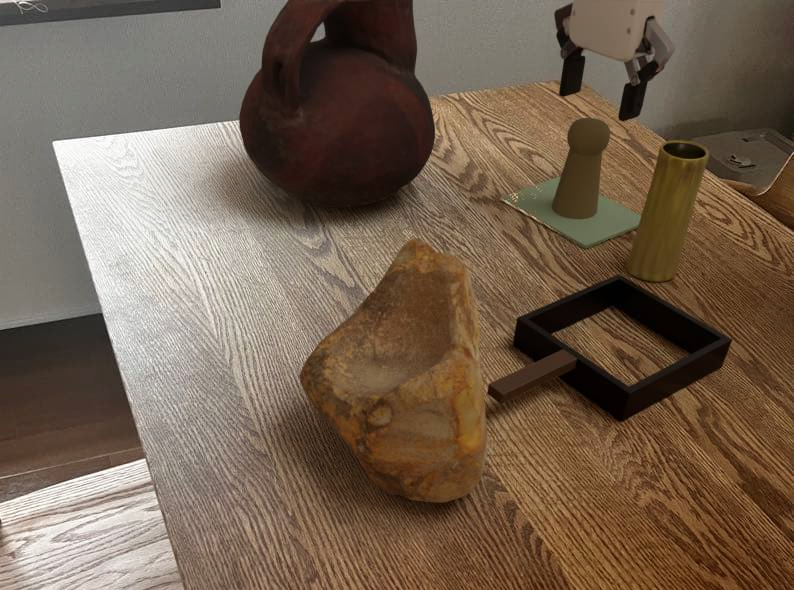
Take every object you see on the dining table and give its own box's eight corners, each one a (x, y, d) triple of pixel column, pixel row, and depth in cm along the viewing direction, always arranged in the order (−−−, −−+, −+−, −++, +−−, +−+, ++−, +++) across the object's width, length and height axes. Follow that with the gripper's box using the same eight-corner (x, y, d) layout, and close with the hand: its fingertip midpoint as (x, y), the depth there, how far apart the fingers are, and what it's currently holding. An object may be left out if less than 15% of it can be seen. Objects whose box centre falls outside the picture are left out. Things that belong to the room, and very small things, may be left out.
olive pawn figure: (588, 196, 111) (606, 111, 103) (603, 217, 107) (623, 130, 99) (545, 199, 110) (560, 113, 102) (559, 220, 106) (576, 132, 98)
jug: (210, 182, 112) (180, -35, 94) (350, 135, 124) (348, -65, 106) (326, 253, 100) (318, 20, 82) (468, 194, 112) (489, -22, 94)
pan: (611, 301, 95) (618, 273, 92) (721, 367, 86) (732, 339, 84) (440, 378, 84) (442, 349, 81) (547, 462, 76) (553, 433, 73)
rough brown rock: (314, 362, 86) (293, 230, 75) (472, 354, 86) (475, 219, 74) (300, 528, 71) (271, 394, 60) (492, 520, 71) (499, 383, 59)
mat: (562, 178, 116) (563, 175, 116) (649, 223, 108) (650, 220, 107) (499, 200, 111) (500, 196, 111) (585, 249, 103) (586, 245, 102)
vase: (644, 287, 97) (679, 165, 86) (614, 262, 101) (644, 142, 90) (686, 277, 99) (725, 156, 88) (655, 253, 102) (689, 134, 92)
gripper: (718, -56, 84) (674, 121, 96) (593, -86, 93) (568, 79, 105) (670, -46, 80) (631, 136, 93) (546, -77, 90) (526, 91, 102)
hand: (598, 105), depth 99 cm, fingers open, 9 cm apart
